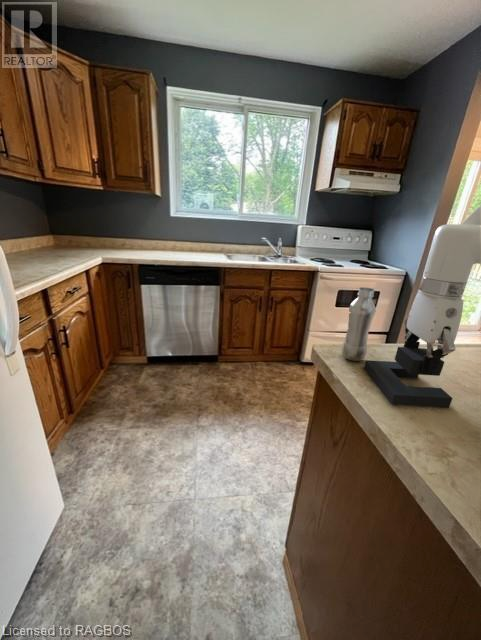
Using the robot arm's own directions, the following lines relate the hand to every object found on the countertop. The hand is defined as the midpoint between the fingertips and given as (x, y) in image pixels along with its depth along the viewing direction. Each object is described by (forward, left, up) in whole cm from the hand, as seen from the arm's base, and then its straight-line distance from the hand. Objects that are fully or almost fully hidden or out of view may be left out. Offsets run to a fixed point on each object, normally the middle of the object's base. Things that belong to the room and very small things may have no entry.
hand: (417, 363), depth 62 cm
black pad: (0, 0, -1) cm, 1 cm away
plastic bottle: (+9, -13, -6) cm, 17 cm away
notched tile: (+2, 0, -6) cm, 6 cm away
